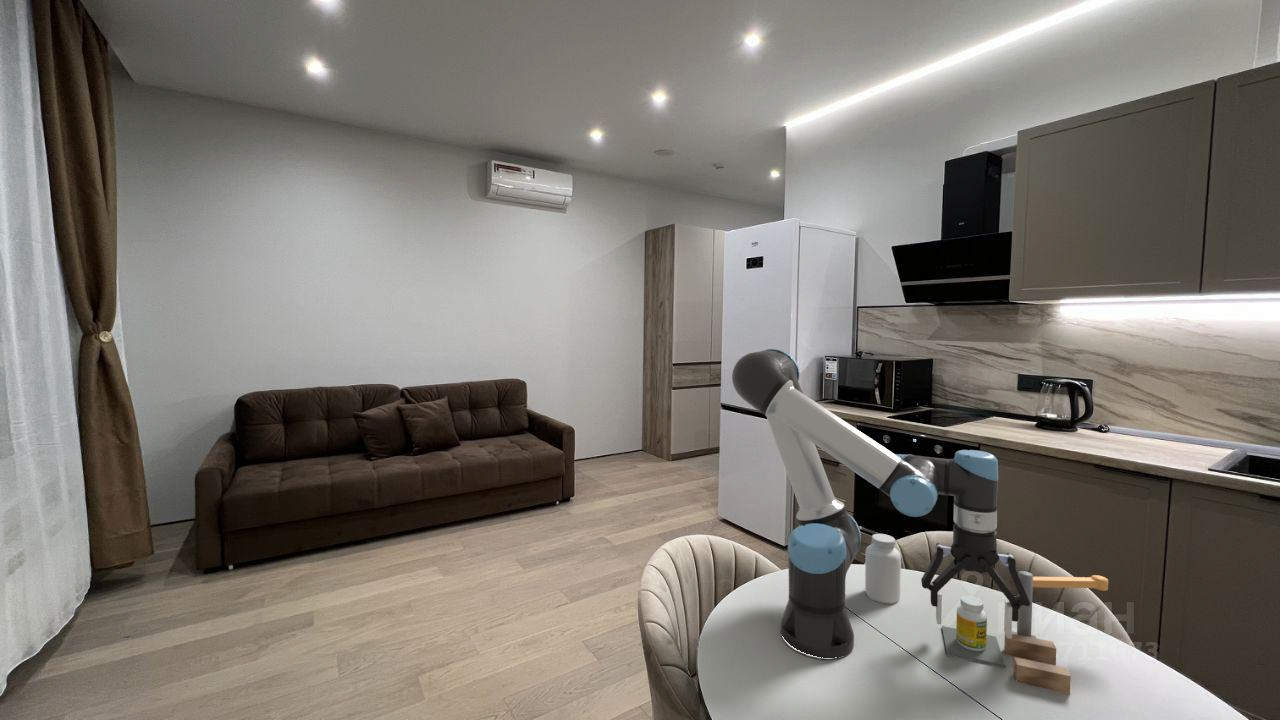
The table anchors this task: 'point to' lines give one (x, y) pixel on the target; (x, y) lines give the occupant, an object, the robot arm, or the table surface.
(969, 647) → the supplement bottle
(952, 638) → the mat
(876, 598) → the pill bottle
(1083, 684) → the table surface
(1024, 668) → the wooden block set
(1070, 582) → the grey orange l-shaped piece
